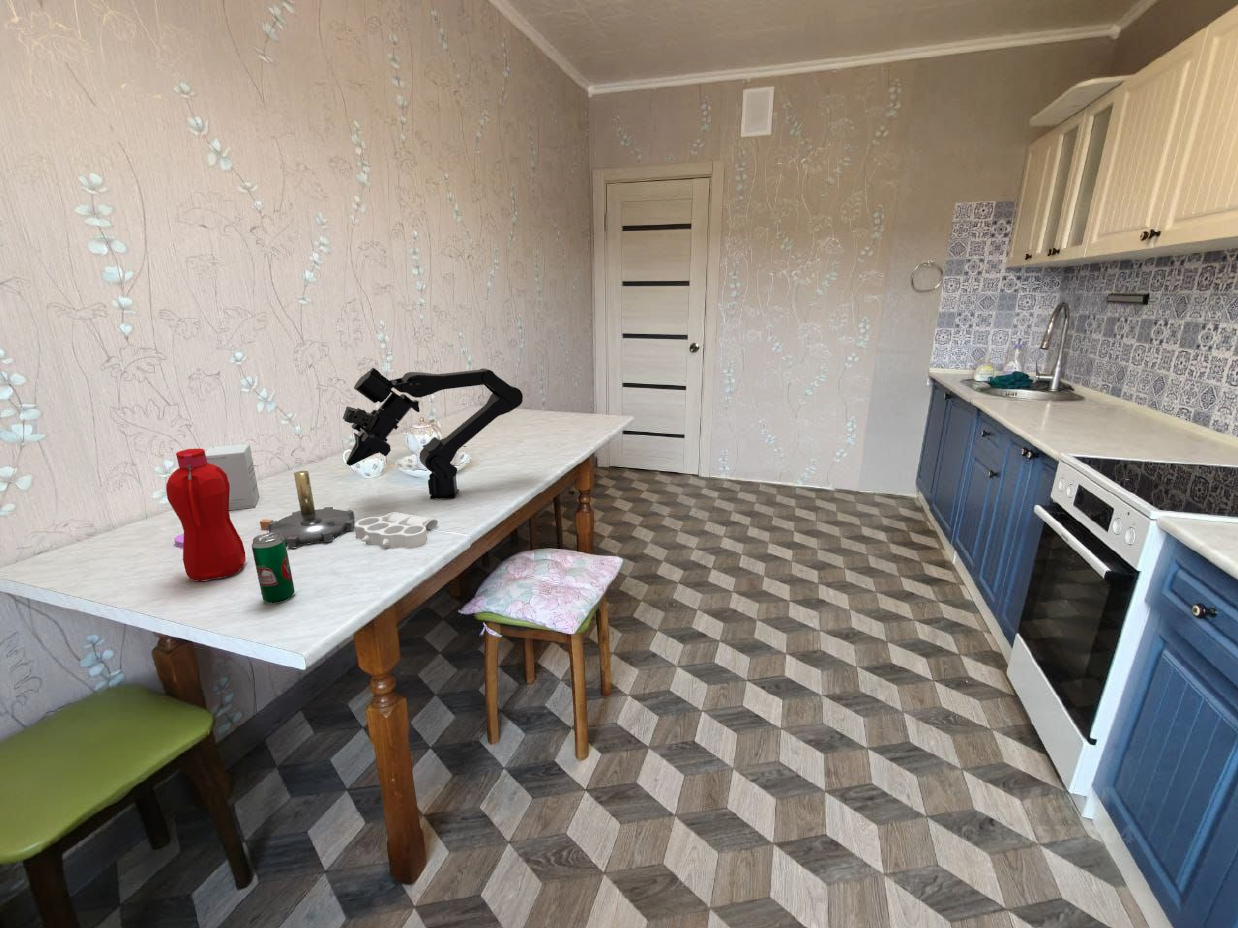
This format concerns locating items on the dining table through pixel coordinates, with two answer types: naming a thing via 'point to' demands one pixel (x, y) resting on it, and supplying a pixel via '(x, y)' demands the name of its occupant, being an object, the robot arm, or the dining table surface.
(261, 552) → the soda can
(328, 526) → the sprocket
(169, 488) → the water bottle
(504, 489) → the dining table surface
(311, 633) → the dining table surface
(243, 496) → the supplement box
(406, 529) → the white brass knuckles
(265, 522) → the orange rectangular block
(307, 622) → the dining table surface
